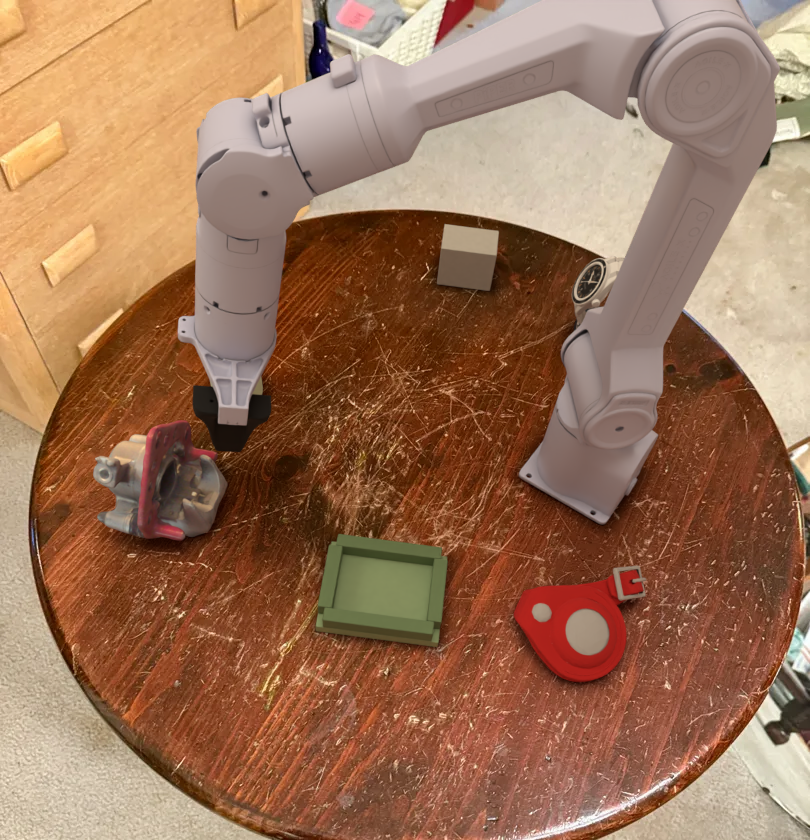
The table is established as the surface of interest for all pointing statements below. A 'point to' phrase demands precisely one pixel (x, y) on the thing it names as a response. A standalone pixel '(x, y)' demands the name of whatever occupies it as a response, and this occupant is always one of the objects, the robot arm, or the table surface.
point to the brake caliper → (161, 484)
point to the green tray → (383, 590)
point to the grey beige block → (467, 257)
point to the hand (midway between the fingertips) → (228, 410)
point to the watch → (594, 285)
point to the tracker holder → (579, 623)
